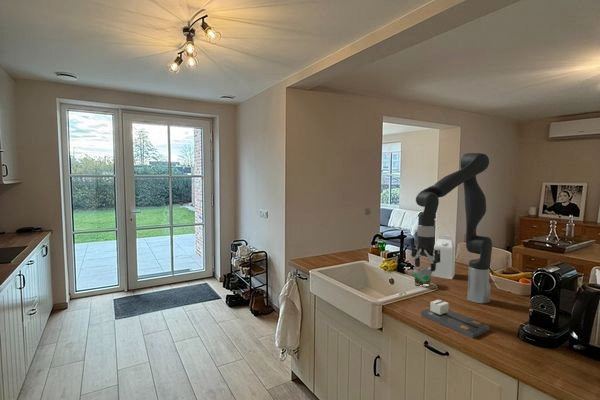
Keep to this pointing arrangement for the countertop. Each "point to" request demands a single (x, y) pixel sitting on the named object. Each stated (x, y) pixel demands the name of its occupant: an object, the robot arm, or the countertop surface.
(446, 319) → the fader console
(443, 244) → the milk
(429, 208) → the robot arm
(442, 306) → the fader knob
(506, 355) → the countertop surface
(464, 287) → the countertop surface
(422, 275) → the food container
